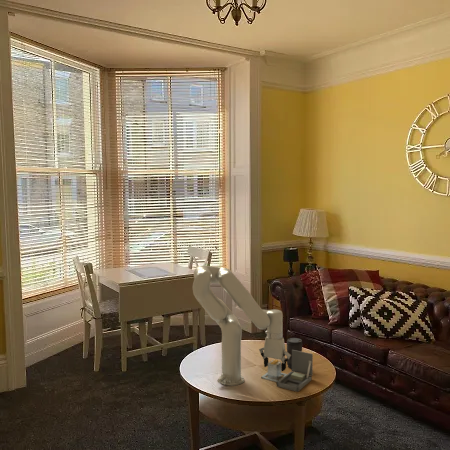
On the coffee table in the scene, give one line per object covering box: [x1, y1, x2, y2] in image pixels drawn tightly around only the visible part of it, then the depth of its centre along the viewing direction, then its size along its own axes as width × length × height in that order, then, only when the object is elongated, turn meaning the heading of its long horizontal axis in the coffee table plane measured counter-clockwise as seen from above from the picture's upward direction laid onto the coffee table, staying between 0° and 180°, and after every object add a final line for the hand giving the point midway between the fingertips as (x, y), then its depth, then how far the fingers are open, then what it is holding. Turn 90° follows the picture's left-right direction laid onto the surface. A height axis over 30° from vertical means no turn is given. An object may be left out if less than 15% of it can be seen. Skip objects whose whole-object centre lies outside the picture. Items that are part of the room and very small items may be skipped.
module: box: [267, 359, 282, 380], centre depth 243 cm, size 5×5×8 cm
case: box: [276, 350, 314, 393], centre depth 235 cm, size 17×11×14 cm, turn 147°
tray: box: [260, 371, 288, 383], centre depth 243 cm, size 10×10×1 cm
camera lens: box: [286, 337, 303, 370], centre depth 256 cm, size 8×8×15 cm
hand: (274, 368), depth 243 cm, fingers open, 9 cm apart
